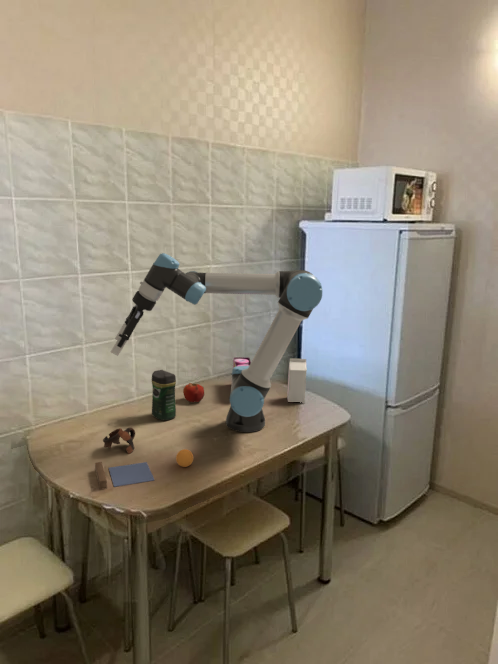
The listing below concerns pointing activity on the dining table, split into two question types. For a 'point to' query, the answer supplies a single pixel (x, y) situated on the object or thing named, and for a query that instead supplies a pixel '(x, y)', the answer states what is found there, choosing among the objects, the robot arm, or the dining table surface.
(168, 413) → the coffee jar
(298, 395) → the milk carton
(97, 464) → the stopper strip
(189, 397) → the tomato
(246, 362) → the gum box
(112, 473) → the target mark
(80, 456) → the dining table surface
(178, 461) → the ball
